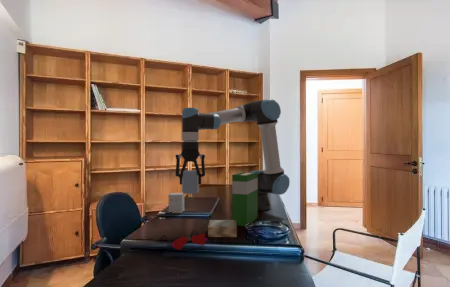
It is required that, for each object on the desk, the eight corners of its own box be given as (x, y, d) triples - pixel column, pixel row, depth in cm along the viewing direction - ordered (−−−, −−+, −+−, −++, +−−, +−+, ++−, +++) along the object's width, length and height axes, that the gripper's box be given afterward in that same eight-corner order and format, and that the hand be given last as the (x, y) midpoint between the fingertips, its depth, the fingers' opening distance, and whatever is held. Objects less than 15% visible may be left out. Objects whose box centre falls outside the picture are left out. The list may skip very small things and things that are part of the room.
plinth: (236, 228, 135) (236, 219, 135) (236, 237, 123) (236, 226, 123) (209, 228, 135) (209, 219, 135) (208, 237, 123) (207, 226, 123)
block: (197, 191, 139) (197, 170, 139) (196, 193, 133) (196, 171, 133) (185, 191, 139) (184, 170, 139) (183, 193, 133) (182, 171, 133)
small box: (184, 211, 171) (184, 192, 171) (182, 213, 165) (182, 194, 165) (171, 210, 171) (171, 192, 171) (168, 213, 166) (168, 194, 166)
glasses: (172, 252, 106) (172, 238, 106) (160, 239, 121) (160, 227, 121) (207, 246, 113) (207, 232, 113) (192, 234, 127) (192, 222, 127)
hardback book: (244, 216, 158) (244, 171, 158) (257, 217, 155) (257, 172, 155) (232, 224, 141) (232, 174, 141) (247, 226, 139) (246, 175, 139)
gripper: (211, 141, 140) (211, 190, 140) (171, 141, 140) (171, 190, 140) (210, 141, 132) (210, 193, 132) (168, 141, 132) (168, 193, 132)
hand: (190, 191), depth 136 cm, fingers closed on block, 6 cm apart
